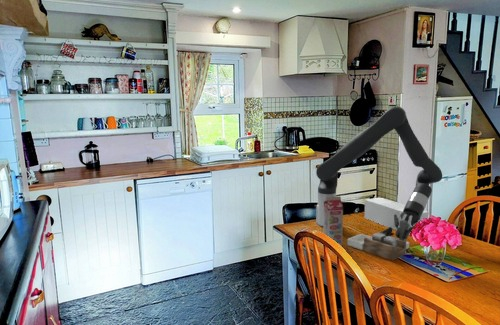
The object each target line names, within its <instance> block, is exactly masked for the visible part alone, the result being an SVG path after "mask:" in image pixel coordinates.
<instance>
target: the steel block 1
mask: <svg viewBox="0 0 500 325" xmlns="http://www.w3.org/2000/svg"><path fill="white" fill-rule="evenodd" d="M371 237H372V240H375V241H378V242H381V243H384V238H386V235H384V234H381V232H376V233H373V234H372V235H371Z"/></svg>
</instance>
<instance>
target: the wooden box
mask: <svg viewBox="0 0 500 325" xmlns="http://www.w3.org/2000/svg"><path fill="white" fill-rule="evenodd" d="M386 237H388V236H386ZM406 242H407V240H406V241H402V240H399V238H398V248H396V249H395V247H394V246H391V245H387V244H384V243H381V242H378V241H375V240H371V239H368V238H364V250H363V251H364V252H366V253H370V254H372V255H376V256H377V257H381V258H384V259H386V260H389V261H395V260H397V259H399V258H401V257H403V256H405V255H406V253H407V249H406Z"/></svg>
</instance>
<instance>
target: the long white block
mask: <svg viewBox="0 0 500 325" xmlns="http://www.w3.org/2000/svg"><path fill="white" fill-rule="evenodd" d="M405 205H406V204H403V203H399V202H396V201H393V200H390V199H386V198H382V197H374V198H373V197H372V198H367V199H364V215H363V216H364V219H365V218H366V220H368V219H369V220H368V221H370V220H371V221H370V222H373V221H374V222H373V223H375V224H378V223H379V225H381V226H383V225H384V226H383V227H386V228H389V227H391V228H392V230H394V231H397V228H396V226H395V222H394V215H395V214H396V215H400V214H401V213H402V212H403V210H404V207H405ZM429 212H430V211H427V210H424V211H423V213H422V215H421V217H420V220H422V219H423V218H428V219H429ZM400 221H401V218H400V220H399V224H400ZM414 225H415V224H414ZM409 235H410V233H409ZM409 235H408V236H409Z"/></svg>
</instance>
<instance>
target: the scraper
mask: <svg viewBox="0 0 500 325" xmlns="http://www.w3.org/2000/svg"><path fill="white" fill-rule="evenodd" d="M406 228H407V221H406V220H401V221H400V226H399V238H398V239H399V240H402V241H406V250H407V249H409V248H410V242H409V241H407V239H405V240H403V239H402V235H403V233H404V231H405V230H406Z"/></svg>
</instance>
